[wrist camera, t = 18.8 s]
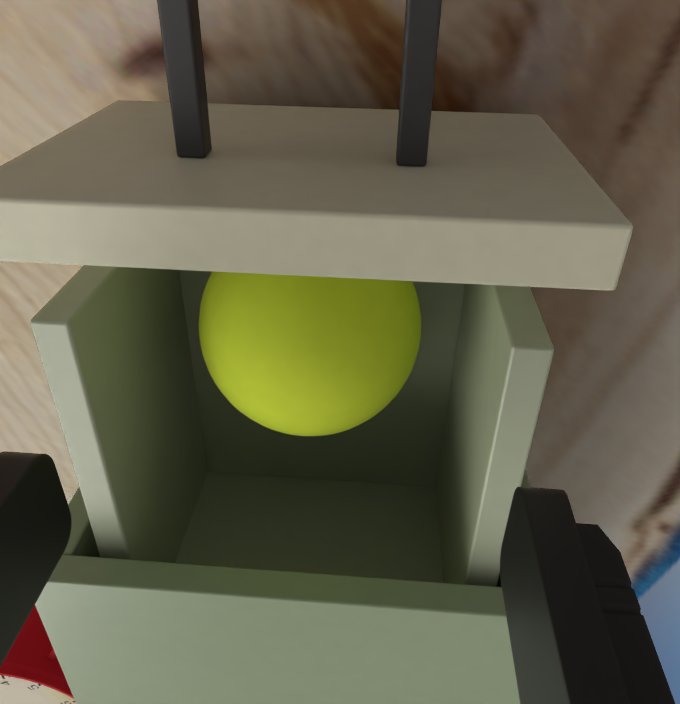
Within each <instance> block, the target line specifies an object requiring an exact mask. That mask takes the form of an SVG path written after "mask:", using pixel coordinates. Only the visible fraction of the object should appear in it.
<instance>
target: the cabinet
mask: <svg viewBox="0 0 680 704" xmlns="http://www.w3.org/2000/svg"><path fill="white" fill-rule="evenodd" d="M521 487H528V488H531V487H530V483H529V479H528V475H527V471H526V468H525V472H524V476H523V480H522V484H521ZM68 506H69V509H70V513H71V519H72V525H71V533H70V538H69V541H68V544H67V547H66V549H65V551H64V553H63V555H62V556H61V558H60V560H59V562H58V564H57V565H56V567H55V569H54V571H53V573H52V575H51V576H50V578H49V580H48V582H47V584H46V585H45V587H44V589H43V591H42V593H41V595H40V596H39V598H38V600H37V602H36V604H35V606H36V608H37V611H38V613H39V615H40V618H41V620H42V623H43V625H44V627H45V630H46V632H47V635H48V637H49V639H50V642H51V644H52V647H53V649H54V651H55V654H56V656H57V659H58V661H59V663H60V666H61V668H62V671H63V673H64V675H65V678H66V680H67V683H68V685H69V687H70V690H71V692H72V695H73V697H74V699H75V702H76V704H520V699H519V693H518V686H517V680H516V674H515V667H514V661H513V655H512V649H511V642H510V636H509V630H508V624H507V617H506V611H505V605H504V599H503V592H502V586H501V577H500V573H499V577H498V581H497V585H496V587H493V586H479V585H466V584H452V583H439V582H425V581H411V580H398V579H384V578H371V577H357V576H344V575H330V574H317V573H303V572H290V571H276V570H263V569H249V568H236V567H222V566H208V565H195V564H181V563H168V562H154V561H141V560H127V559H114V558H101V557H100V554H99V550H98V547H97V544H96V540H95V537H94V534H93V530H92V527H91V524H90V520H89V517H88V514H87V510H86V507H85V504H84V500H83V497H82V494H81V490H80V487H79V488H78V489H77V491H76V493H75V495H74V496H73V498H72V500H71V501H70V503H69V505H68Z"/></svg>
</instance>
